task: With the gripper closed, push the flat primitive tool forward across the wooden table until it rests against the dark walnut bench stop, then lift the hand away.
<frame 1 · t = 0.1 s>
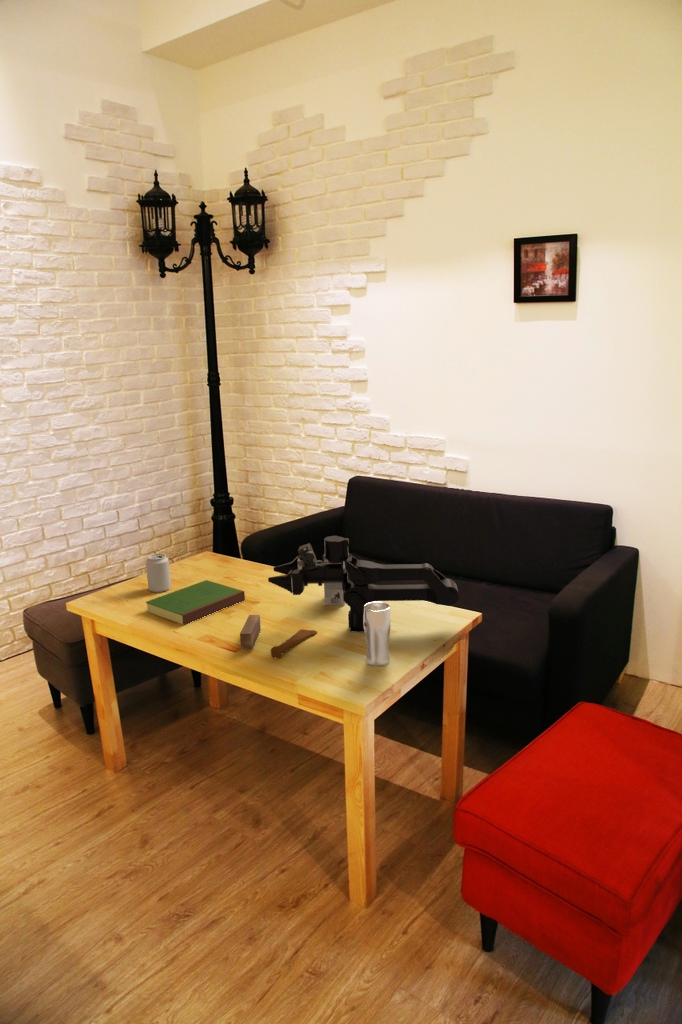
hand: (271, 574, 201), 17 cm above the table, tool horizontal, fingers open, 9 cm apart
can: (160, 590, 240), on the table
primitive tool: (293, 645, 195), on the table
hardcover book: (197, 607, 225), on the table
bench stop: (251, 640, 197), on the table
coffee box: (336, 600, 225), on the table
beer glass: (377, 661, 182), on the table
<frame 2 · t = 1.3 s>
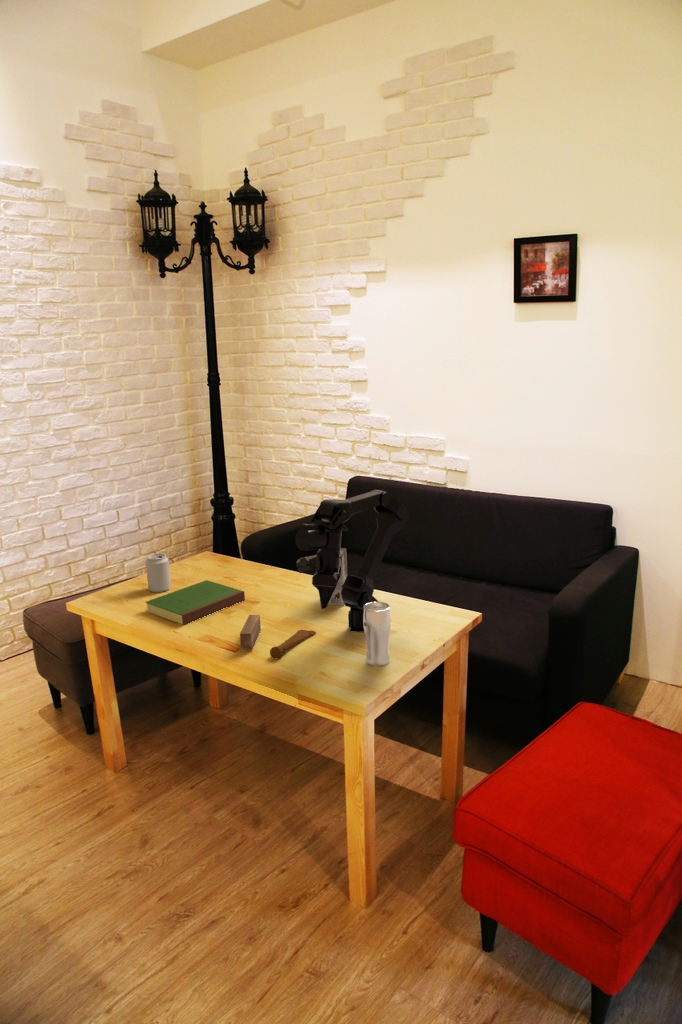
hand: (325, 604, 191), 11 cm above the table, tool pointing down, fingers open, 9 cm apart
nothing on the table moved.
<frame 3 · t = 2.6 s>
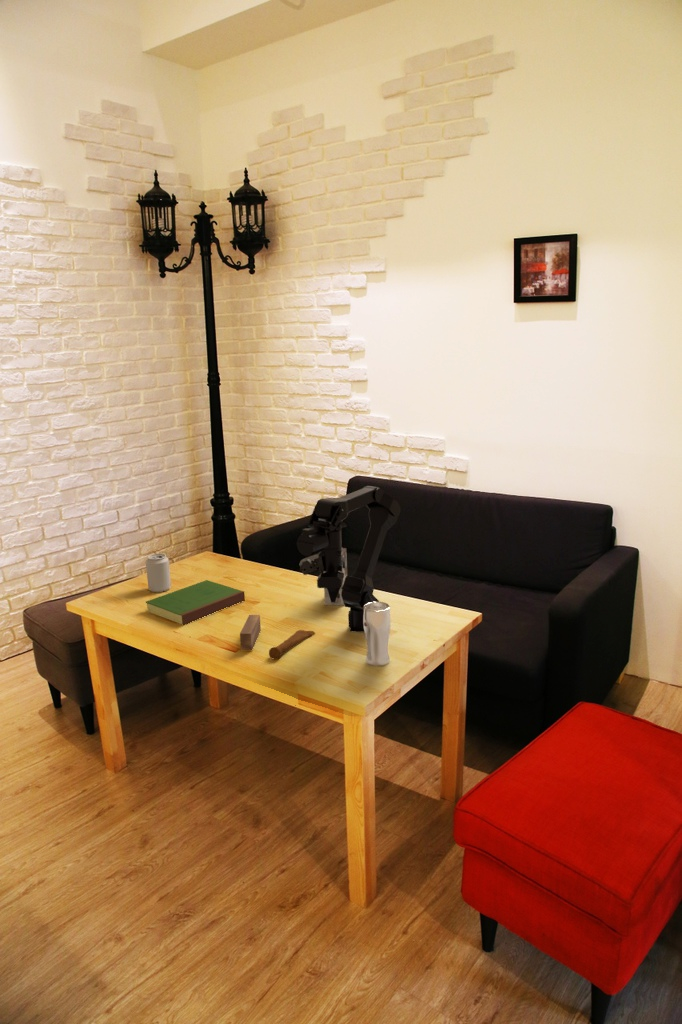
hand: (333, 601, 191), 12 cm above the table, tool pointing down, fingers closed
nothing on the table moved.
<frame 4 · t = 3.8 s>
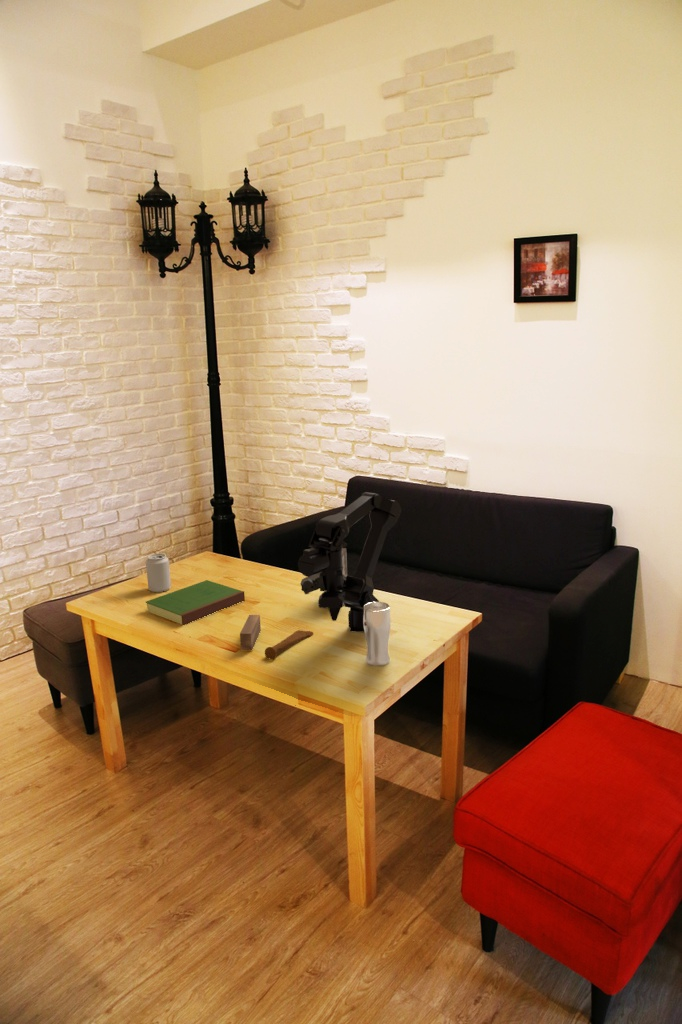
hand: (334, 620, 192), 7 cm above the table, tool pointing down, fingers closed
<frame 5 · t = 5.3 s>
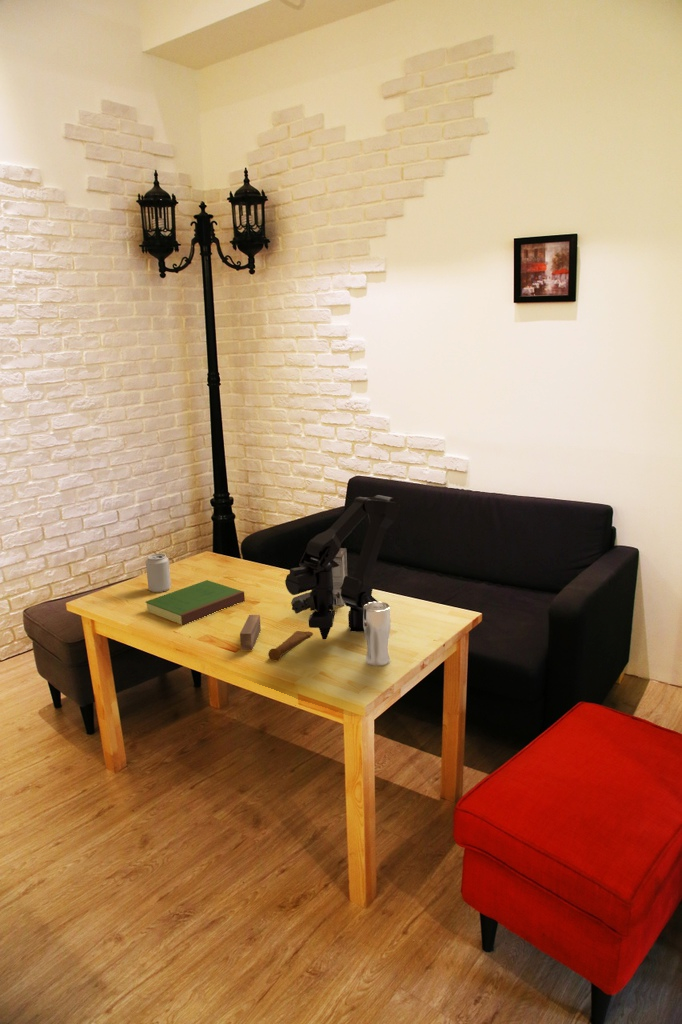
hand: (324, 639, 194), 1 cm above the table, tool pointing down, fingers closed
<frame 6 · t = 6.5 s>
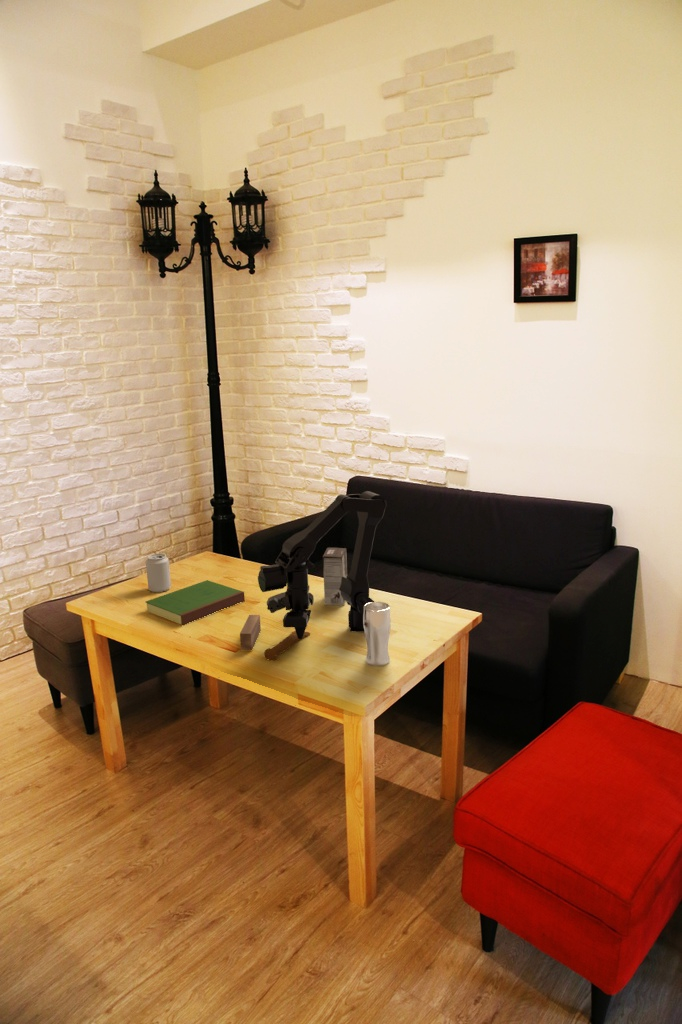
hand: (300, 638, 194), 1 cm above the table, tool pointing down, fingers closed
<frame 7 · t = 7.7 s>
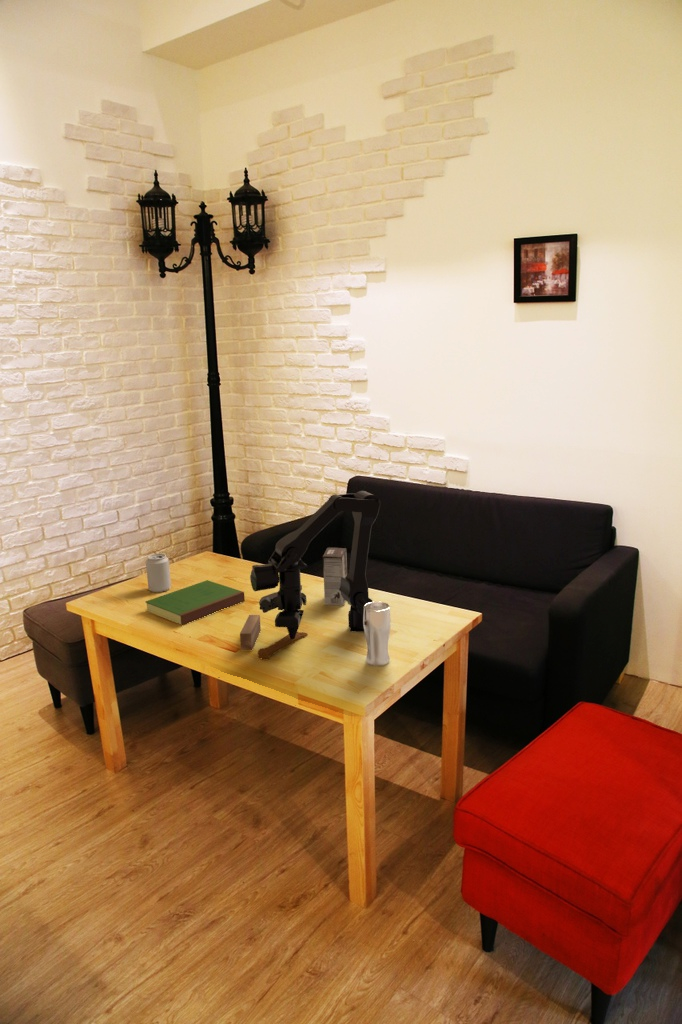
hand: (292, 638, 195), 1 cm above the table, tool pointing down, fingers closed, pressing on primitive tool
primitive tool: (282, 647, 194), on the table, touching gripper
everything else where it was.
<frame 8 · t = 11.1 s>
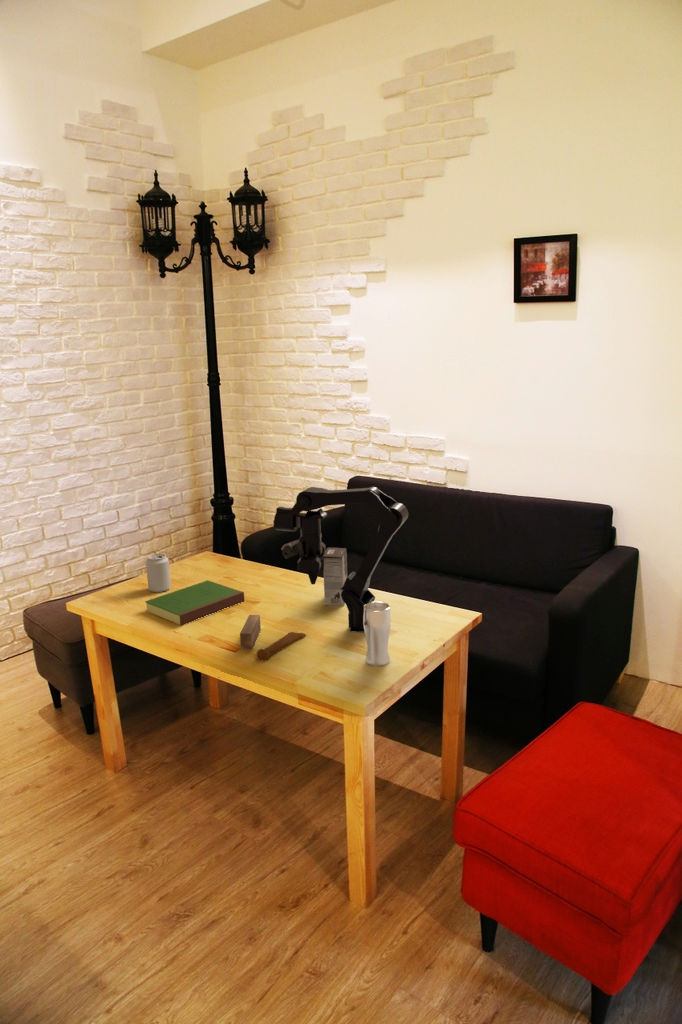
hand: (313, 584, 205), 12 cm above the table, tool pointing down, fingers closed
primitive tool: (280, 648, 193), on the table
everything else where it was.
at the end: primitive tool inside the target area (3.0 cm from its centre), on the table; primitive tool moved 3.8 cm from its start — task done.
